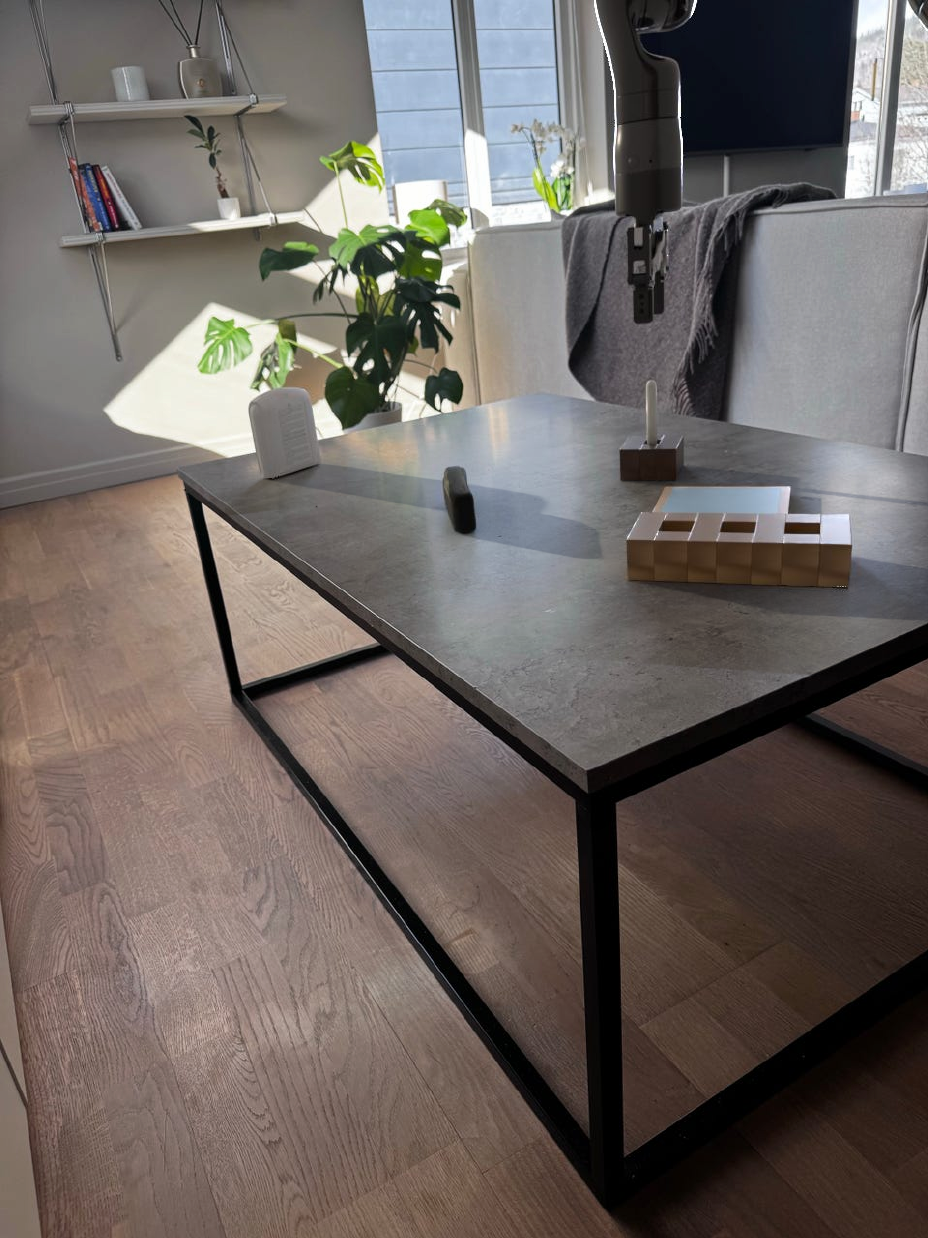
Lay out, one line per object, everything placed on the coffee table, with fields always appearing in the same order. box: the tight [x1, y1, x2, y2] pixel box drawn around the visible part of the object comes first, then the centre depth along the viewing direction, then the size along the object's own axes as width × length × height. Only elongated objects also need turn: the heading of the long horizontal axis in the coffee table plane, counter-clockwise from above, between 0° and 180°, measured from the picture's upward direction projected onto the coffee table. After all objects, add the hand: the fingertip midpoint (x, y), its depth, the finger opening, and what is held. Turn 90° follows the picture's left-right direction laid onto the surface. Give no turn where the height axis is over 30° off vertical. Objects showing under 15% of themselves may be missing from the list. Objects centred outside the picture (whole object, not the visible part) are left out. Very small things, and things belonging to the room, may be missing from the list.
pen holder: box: [625, 511, 853, 588], centre depth 82 cm, size 19×8×4 cm, turn 70°
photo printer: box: [247, 386, 322, 479], centre depth 133 cm, size 10×4×12 cm, turn 140°
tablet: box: [652, 486, 792, 514], centre depth 95 cm, size 14×18×1 cm
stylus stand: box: [618, 434, 685, 481], centre depth 113 cm, size 7×7×4 cm
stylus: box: [645, 379, 658, 444], centre depth 112 cm, size 1×1×12 cm
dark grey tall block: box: [441, 465, 477, 533], centre depth 105 cm, size 5×3×15 cm
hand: (649, 318), depth 106 cm, fingers open, 8 cm apart
